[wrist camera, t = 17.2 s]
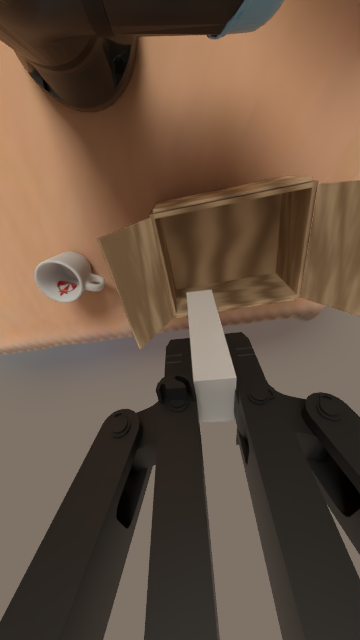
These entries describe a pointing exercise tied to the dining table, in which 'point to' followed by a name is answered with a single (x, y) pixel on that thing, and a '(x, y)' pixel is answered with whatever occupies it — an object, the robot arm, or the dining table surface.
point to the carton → (236, 242)
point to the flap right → (335, 248)
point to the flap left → (138, 278)
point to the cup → (66, 277)
